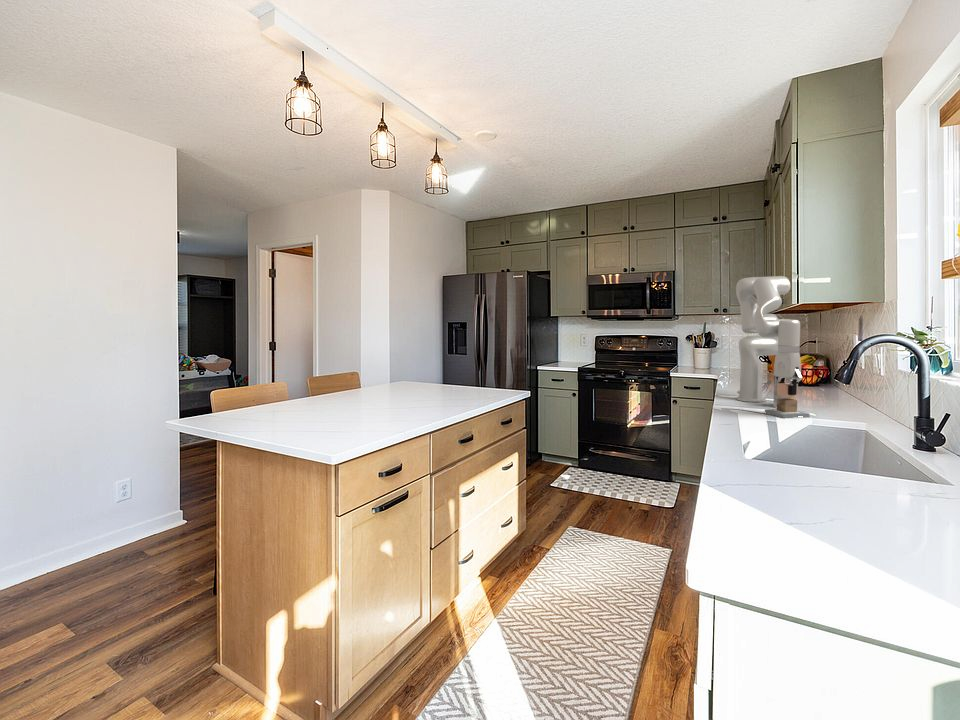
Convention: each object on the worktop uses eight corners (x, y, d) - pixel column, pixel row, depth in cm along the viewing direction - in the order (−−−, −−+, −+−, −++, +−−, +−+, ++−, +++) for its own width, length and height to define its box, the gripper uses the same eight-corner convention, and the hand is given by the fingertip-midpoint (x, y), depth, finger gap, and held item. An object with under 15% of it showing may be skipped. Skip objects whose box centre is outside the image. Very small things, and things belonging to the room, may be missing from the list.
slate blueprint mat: (764, 413, 195) (764, 409, 195) (789, 412, 196) (789, 408, 196) (783, 418, 184) (783, 414, 184) (809, 417, 185) (809, 413, 185)
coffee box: (780, 404, 213) (780, 370, 212) (796, 406, 208) (797, 371, 207) (772, 407, 208) (773, 372, 206) (789, 409, 203) (790, 373, 201)
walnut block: (776, 410, 193) (776, 398, 192) (788, 409, 193) (788, 398, 192) (785, 412, 188) (785, 400, 187) (796, 412, 188) (797, 400, 187)
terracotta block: (776, 395, 192) (777, 383, 192) (788, 394, 192) (788, 382, 192) (785, 397, 187) (785, 384, 187) (797, 396, 187) (797, 384, 187)
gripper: (765, 349, 197) (764, 391, 198) (795, 351, 180) (793, 397, 181) (782, 348, 197) (780, 390, 198) (813, 350, 180) (811, 396, 181)
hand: (787, 393), depth 190 cm, fingers closed on terracotta block, 5 cm apart
